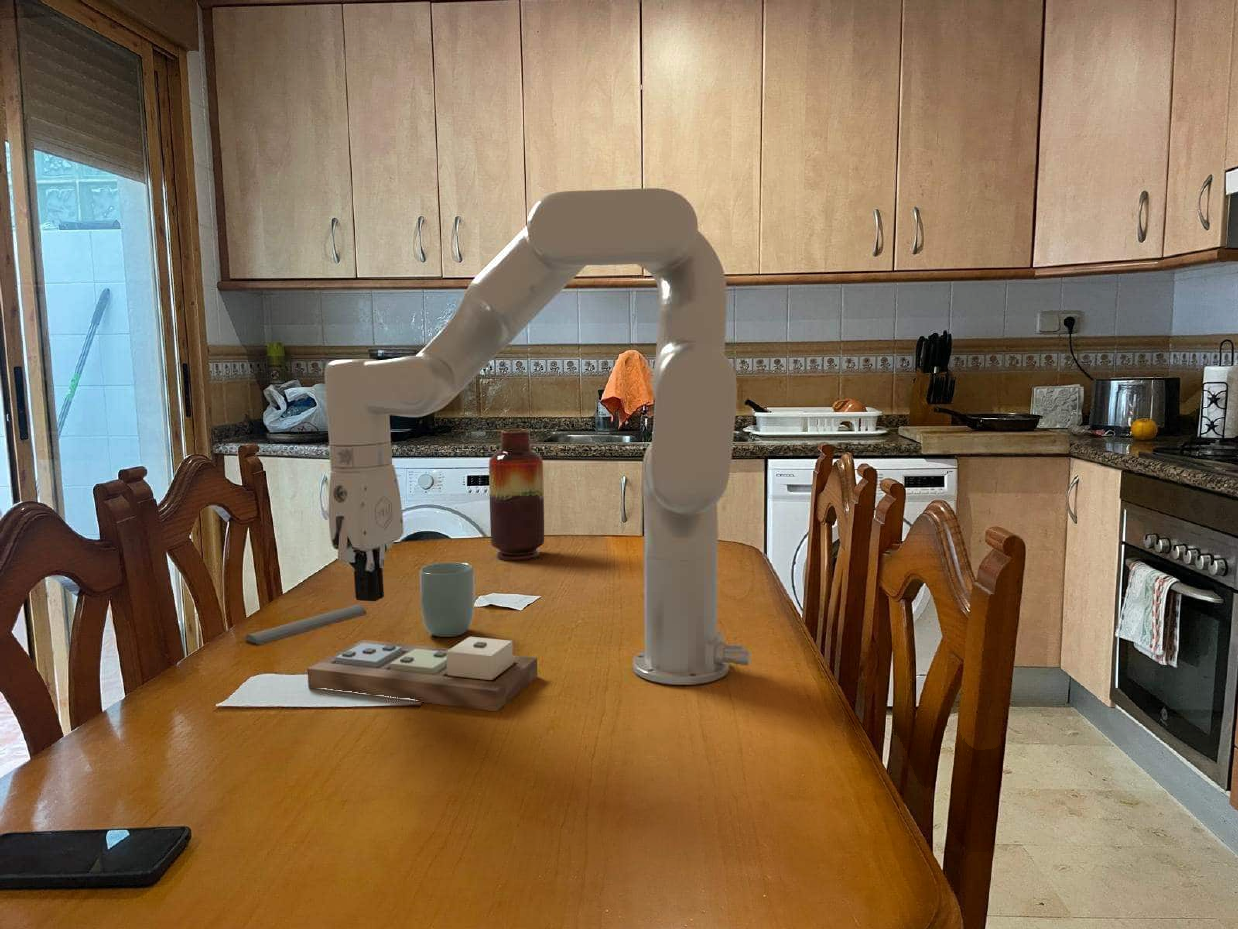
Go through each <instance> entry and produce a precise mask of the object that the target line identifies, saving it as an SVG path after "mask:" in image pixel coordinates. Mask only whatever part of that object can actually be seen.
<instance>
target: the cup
mask: <svg viewBox="0 0 1238 929" xmlns="http://www.w3.org/2000/svg"><path fill="white" fill-rule="evenodd" d="M419 588H420V589H419V591H420V592H419V594H420V607H421V609H420V610H421V615H422V621H423V625H424V627H425V628H426V630H427V632H428V633H429V634H430V635H432V636H436V637H438V638H439V637H440V638H452V637H453V638H454V637H458V636H460V635H463V634H465V633H466V632H467V631H468V630H469V628H470V626H472V622H473V618H474V613H475V612H474V610H475V574H474V567H473V565H472V564H470V563H466V562H457V561H456V562H453V561H452V562H451V561H450V562H448V561H447V562H446V561H445V562H436V563H431V564H428V565H425V566H423V567H421V568H420V570H419Z"/></svg>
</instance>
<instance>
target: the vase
mask: <svg viewBox="0 0 1238 929" xmlns="http://www.w3.org/2000/svg"><path fill="white" fill-rule="evenodd" d="M488 476H489V477H488V482H489V484H488V486H489V488H488V490H489V491H488V492H489V521H490V522H489V523H490V528H489V529H490V543H491V546H492V547H493V548H495V549H497V550H498V551H497V552H496V554H495V557H496V559H499V560H504V561H512V562H513V561H514V562H516V561H517V562H518V561H529V560H533V559H536V558H537V559H538V558H539V557H540V556H541V555H540V554H541V553H540V551H539V550H538V548H540V547H541V546H543V545H544V543H545V505H544V504H545V502H544V501H545V499H544V498H545V496H544V495H545V494H544V460H543V458H542V456H541V455H540V454H539V453H537V452H535V451H534V450H532V449H531V435H530V430H529V429H524V428H523V429H519V428H517V429H516V428H515V429H514V428H513V429H502V430H501V431H500V450H499V451H498V452H495V453H494V454H493V455H492V456H491V457H490V459H489V463H488Z"/></svg>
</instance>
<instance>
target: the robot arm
mask: <svg viewBox="0 0 1238 929" xmlns="http://www.w3.org/2000/svg"><path fill="white" fill-rule="evenodd" d="M526 222H527V223H526V226H525V227H524V228H523V229H522V230H521V231H519V233H518V234H517V235H516V236H515V237H514V238H513V240H512V241H510V243H508V245H507V246H505V247H504V249H502V251H500V253H499V254H498V255H497V256H495V258H494V259H493V260H491V262H490V263H488V265H487V266H485V267H484V269H483V270H482V271H481V272H480V273H478V275H476V276H475V277H474V278H473V280H472V281H471V283H470V284H469V285H468V287H467V289H466V291H465V293H464V295H463V297H462V300H461V303H460V305H459V307H458V308H457V311H455V313H454V314H453V315H452V317H451V319H450V320H449V321H448V322H447V323H446V325H445V326H444V327H442V329H441V330H440V331H439V332H438V333H437V334H436V336H434V337H433V338H432V339H431V340H430V341H429V343H427V344H426V346H425V347H424V348H423V349H421V350H420V351H419V352H418V353H417V354H416V355H407V356H401V357H396V358H391V359H390V358H389V359H382V360H378V359H376V358H375V359H374V358H356V359H355V358H353V359H351V358H349V359H336V360H331V361H330V362H328V363H327V365H326V366H325V369H324V387H325V388H324V390H325V403H326V405H325V406H326V417H327V433H328V449H329V461H330V462H329V463H330V464H329V465H330V466H329V467H330V476H329V486H328V487H329V488H328V527H329V528H328V530H329V537H330V538H329V539H330V543H331V546H332V548H333V549H334V550H336V551H337V562H341V563H348V564H349V566H350V569H351V571H352V572H353V578H354V594H355V595H354V596H355V599H356V600H357V601H363V602H377V601H379V600H382V599H383V598H384V597H385V590H384V589H385V588H384V575H383V574H384V573H383V568H384V567H385V562H386V561H385V560H386V552H387V551H388V549H390V548H391V547H392V546H393V545H394V542H396V541H398V540H399V539H400V538H402V536H403V534H404V519H403V518H404V517H403V509H402V500H401V492H400V486H399V480H398V476H397V473H396V470H395V465H394V464H393V457H392V456H393V453H392V442H391V441H392V439H391V438H392V437H391V425H390V422H391V421H390V416H397V417H405V418H406V417H407V418H420V417H424V416H427V415H431V414H432V413H434V412H437V411H440V410H441V409H443V408H445V407H446V406H447V405H448V404H449V403H451V401H453V400H454V399H455V398H456V397H457V396H458V394H460V393H461V392H462V391H463V390H464V389H465V388H466V387H467V386H468V385H469V384H470V383H471V382H472V381H473V380H474V379H475V378H476V377H477V375H479V373H480V372H481V371H483V369H485V368H486V367H487V365H488V364H489V363H490V362H492V360H493V359H494V358H495V357H496V356H497V355H498V354H499V353H500V352H501V351H502V350H503V349H504V348H506V346H508V345H509V344H510V343H512V342H513V341H514V340H515V339H516V338H517V336H518V335H519V334H520V333H521V332H522V331H523V330H524V329H525V328H526V327H527V325H529V323H531V322H532V320H534V319H535V317H537V316H538V315H539V314H540V312H541V311H542V310H543V309H544V308H545V307H546V306H547V305H548V304H549V303H550V302H551V301H552V300H553V299H554V298H555V297H556V296H557V295H558V294H559V293H560V292H561V291H562V290H563V289H564V288H565V287H567V285H569V283H571V282H572V281H573V279H574V278H576V276H578V275H579V274H580V272H582V270H583V269H584V268H585V267H587V266H616V265H637V266H638V267H640V268H642V269H644V270H645V271H647V272H648V273H649V274H650V275H651V276H652V277H653V279H654V281H655V283H656V286H657V289H658V290H657V291H658V297H659V303H658V326H657V328H658V329H657V339H656V340H657V341H656V350H655V360H654V366H653V372H652V375H651V390H652V394H653V396H654V410H653V423H652V424H653V425H652V434H651V436H652V437H651V438H652V439H651V442H650V443H649V445H648V447H647V448H646V450H645V453H644V454H643V455H644V456H643V460H642V466H641V477H642V479H641V482H642V499H643V500H642V502H643V503H642V505H643V532H644V533H643V539H644V540H643V542H644V543H643V544H644V545H643V546H644V550H643V579H644V583H643V584H644V585H643V592H644V593H643V594H644V595H643V598H644V604H643V605H644V606H643V609H644V614H643V615H644V618H643V619H644V622H643V623H644V625H643V626H644V650H642V651H640V652H639V653H637V654H636V655H635V656H634V657H633V659H632V669H633V671H634V673H635V674H637V675H638V676H639V677H641V678H643V679H644V680H648V681H650V682H654V683H659V684H664V685H675V686H690V685H701V684H707V683H711V682H714V681H717V680H719V679H722V678H723V677H725V676H726V675H727V674H728V673H729V671H730V664H731V663H732V664H735V665H739V666H740V665H742V666H749V665H750V662H751V649H745V645H743V644H742V645H741V644H727V642H726V641H724V633H723V632H721V631H720V632H719V631H718V584H719V583H718V581H719V580H718V573H719V572H718V568H719V566H718V560H719V559H718V556H719V554H718V553H719V526H718V525H719V522H718V521H719V520H718V519H719V518H718V502H719V501H720V500H721V498H722V497H723V495H724V494H725V491H726V490H727V487H728V484H729V478H730V472H731V467H732V465H731V464H732V456H733V447H734V446H733V445H734V437H735V436H734V435H735V425H736V424H735V423H736V414H737V413H736V412H737V400H738V399H737V398H738V397H737V396H738V393H737V392H738V389H737V388H738V386H737V385H738V383H737V378H736V373H735V370H734V369H735V368H734V367H733V365H732V363H731V362H730V360H729V358H728V357H727V355H725V348H726V346H725V345H726V333H727V332H726V331H727V329H726V328H727V309H728V306H727V305H728V291H727V290H728V289H727V287H728V286H727V280H726V274H725V271H724V268H723V265H722V262H721V261H720V258H719V256H718V254H717V252H716V250H715V249H714V247H713V246H712V244H711V243H710V242H709V240H708V239H707V238H706V236H704V235H703V234H702V233H701V232H700V230H699V229H698V228H699V224H698V223H699V222H698V217H697V213H696V211H695V209H694V207H693V205H692V203H690V202H689V201H688V200H687V198H685V197H684V196H683V195H682V194H680V193H678V192H677V191H674V190H670V189H666V188H656V187H655V188H654V187H653V188H649V187H647V188H645V187H644V188H627V189H626V188H624V189H597V190H596V189H595V190H592V189H591V190H567V191H566V190H565V191H558V192H553V193H550V194H548V195H546V196H544V197H542V198H541V199H540V200H538V201H537V202H536V204H534V206H533V207H532V209H531V210H530V213H529V215H528V219H527V221H526Z"/></svg>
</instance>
